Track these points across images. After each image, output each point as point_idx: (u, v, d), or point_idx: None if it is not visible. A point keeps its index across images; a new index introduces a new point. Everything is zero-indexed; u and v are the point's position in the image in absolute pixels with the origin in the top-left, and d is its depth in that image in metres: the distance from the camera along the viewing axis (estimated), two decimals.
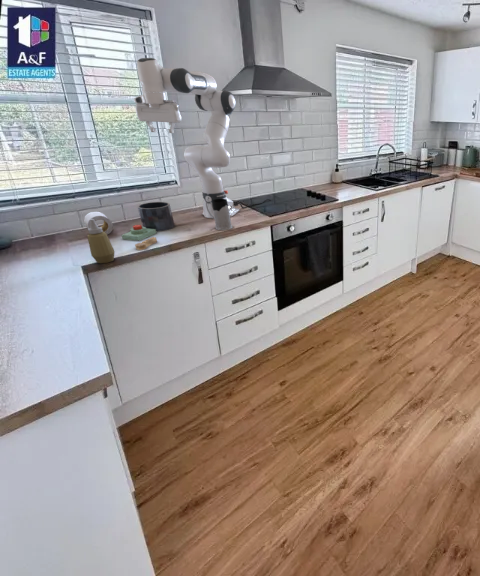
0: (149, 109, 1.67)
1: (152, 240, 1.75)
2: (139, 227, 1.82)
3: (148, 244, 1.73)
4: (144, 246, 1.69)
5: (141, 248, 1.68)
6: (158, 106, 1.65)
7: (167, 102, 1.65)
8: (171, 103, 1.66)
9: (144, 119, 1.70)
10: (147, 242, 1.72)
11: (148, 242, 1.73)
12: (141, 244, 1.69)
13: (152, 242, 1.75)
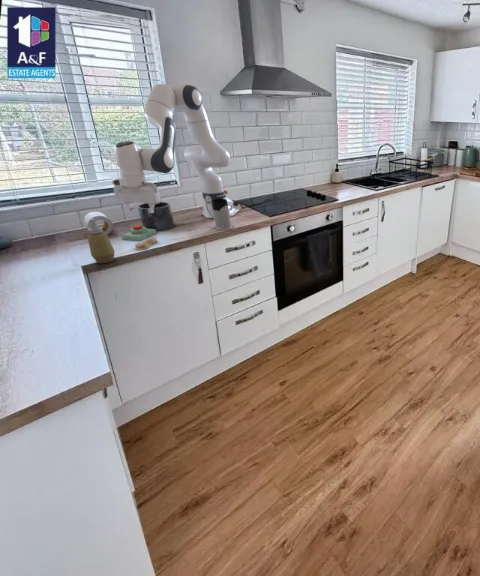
0: (128, 190, 1.63)
1: (152, 240, 1.75)
2: (139, 227, 1.82)
3: (148, 244, 1.73)
4: (144, 246, 1.69)
5: (141, 248, 1.68)
6: (137, 188, 1.61)
7: (146, 184, 1.61)
8: (150, 185, 1.61)
9: (123, 200, 1.65)
10: (147, 242, 1.72)
11: (148, 242, 1.73)
12: (141, 244, 1.69)
13: (152, 242, 1.75)
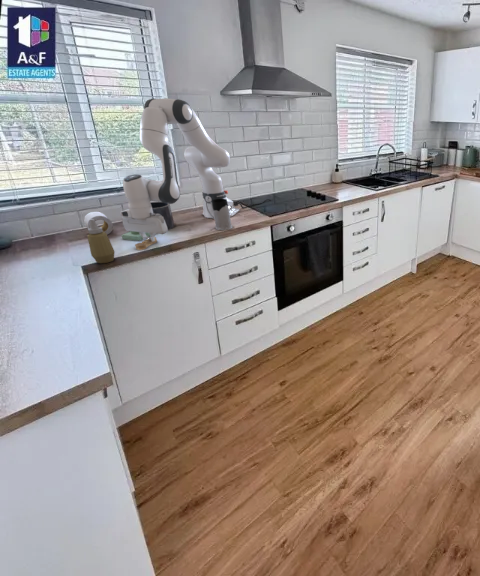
0: (136, 221, 1.69)
1: None
2: None
3: (148, 244, 1.73)
4: (144, 246, 1.69)
5: (141, 248, 1.68)
6: (144, 219, 1.67)
7: (153, 215, 1.67)
8: (157, 216, 1.67)
9: (131, 229, 1.71)
10: (147, 242, 1.72)
11: (148, 242, 1.73)
12: (141, 244, 1.69)
13: (152, 242, 1.75)
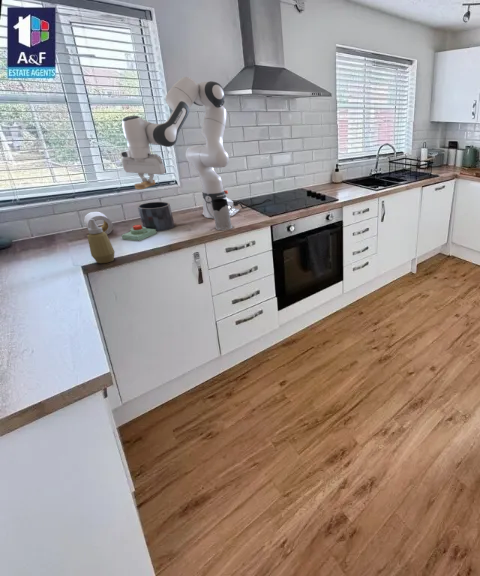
0: (135, 162, 1.78)
1: None
2: (139, 227, 1.82)
3: (147, 185, 1.82)
4: (143, 186, 1.78)
5: (140, 187, 1.77)
6: (143, 160, 1.76)
7: (151, 155, 1.76)
8: (155, 157, 1.76)
9: (130, 171, 1.80)
10: (146, 183, 1.81)
11: (147, 183, 1.82)
12: (140, 184, 1.78)
13: (151, 184, 1.84)
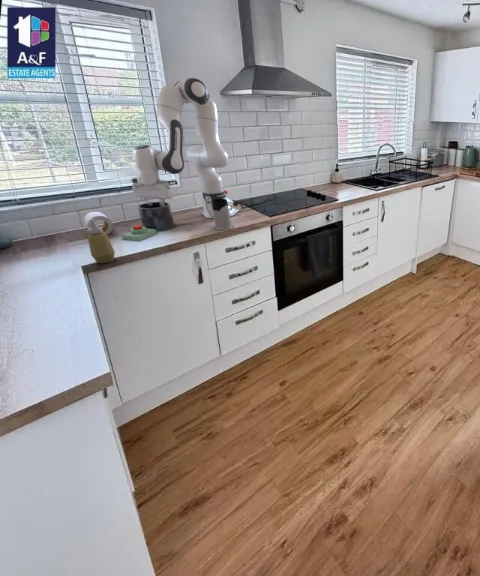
0: (144, 187, 1.89)
1: None
2: (139, 227, 1.82)
3: None
4: None
5: None
6: (152, 185, 1.87)
7: (160, 182, 1.87)
8: (163, 183, 1.87)
9: (140, 195, 1.91)
10: None
11: None
12: None
13: None
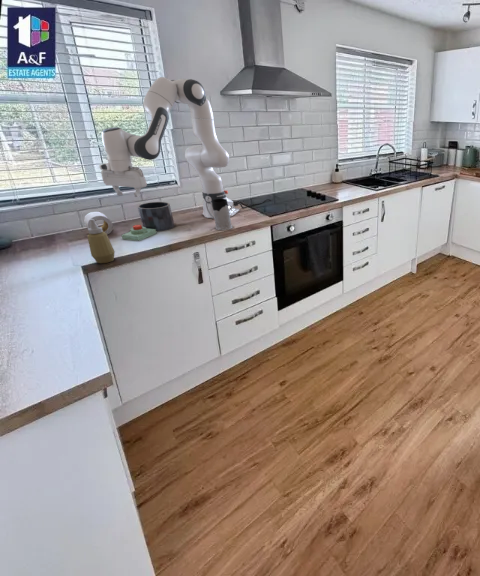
0: (115, 175, 1.71)
1: None
2: (139, 227, 1.82)
3: None
4: None
5: None
6: (123, 172, 1.69)
7: (132, 168, 1.69)
8: (136, 170, 1.69)
9: (110, 184, 1.73)
10: None
11: None
12: None
13: None
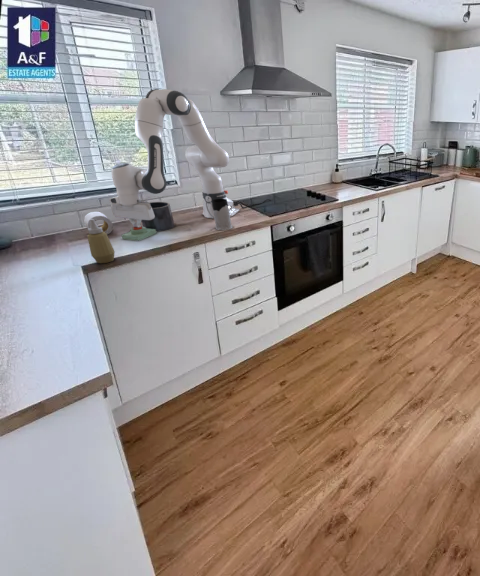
0: (124, 208, 1.77)
1: None
2: (139, 228, 1.82)
3: None
4: None
5: None
6: (132, 206, 1.75)
7: (140, 202, 1.75)
8: (144, 203, 1.75)
9: (119, 216, 1.79)
10: None
11: None
12: None
13: None
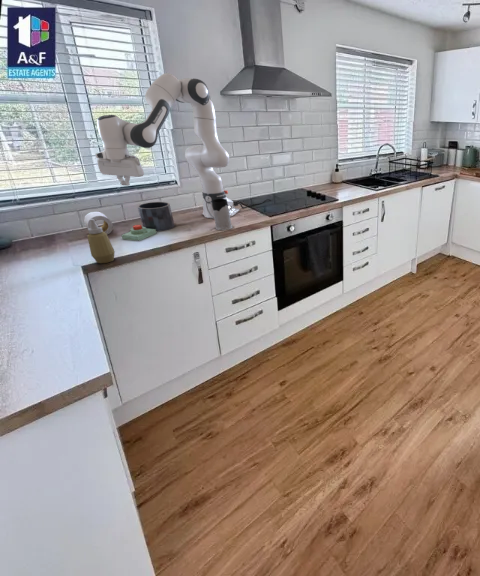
0: (111, 164, 1.68)
1: None
2: (139, 227, 1.82)
3: None
4: None
5: None
6: (119, 161, 1.66)
7: (129, 157, 1.66)
8: (132, 158, 1.66)
9: (106, 173, 1.70)
10: None
11: None
12: None
13: None
